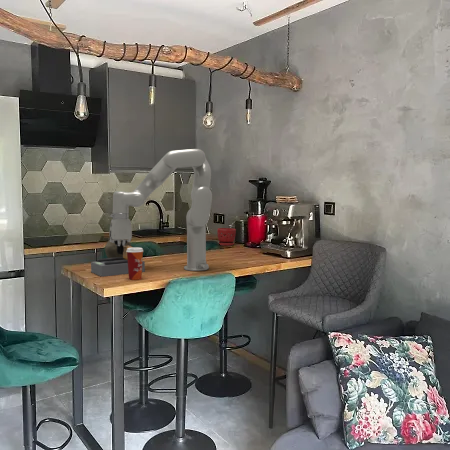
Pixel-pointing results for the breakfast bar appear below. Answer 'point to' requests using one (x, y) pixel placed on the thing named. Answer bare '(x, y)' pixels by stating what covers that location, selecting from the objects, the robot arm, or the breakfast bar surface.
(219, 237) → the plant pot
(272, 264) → the breakfast bar surface
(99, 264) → the grey open box
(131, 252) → the paper cup
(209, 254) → the breakfast bar surface
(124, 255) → the lever
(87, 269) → the breakfast bar surface
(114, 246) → the cantaloupe
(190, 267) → the robot arm
